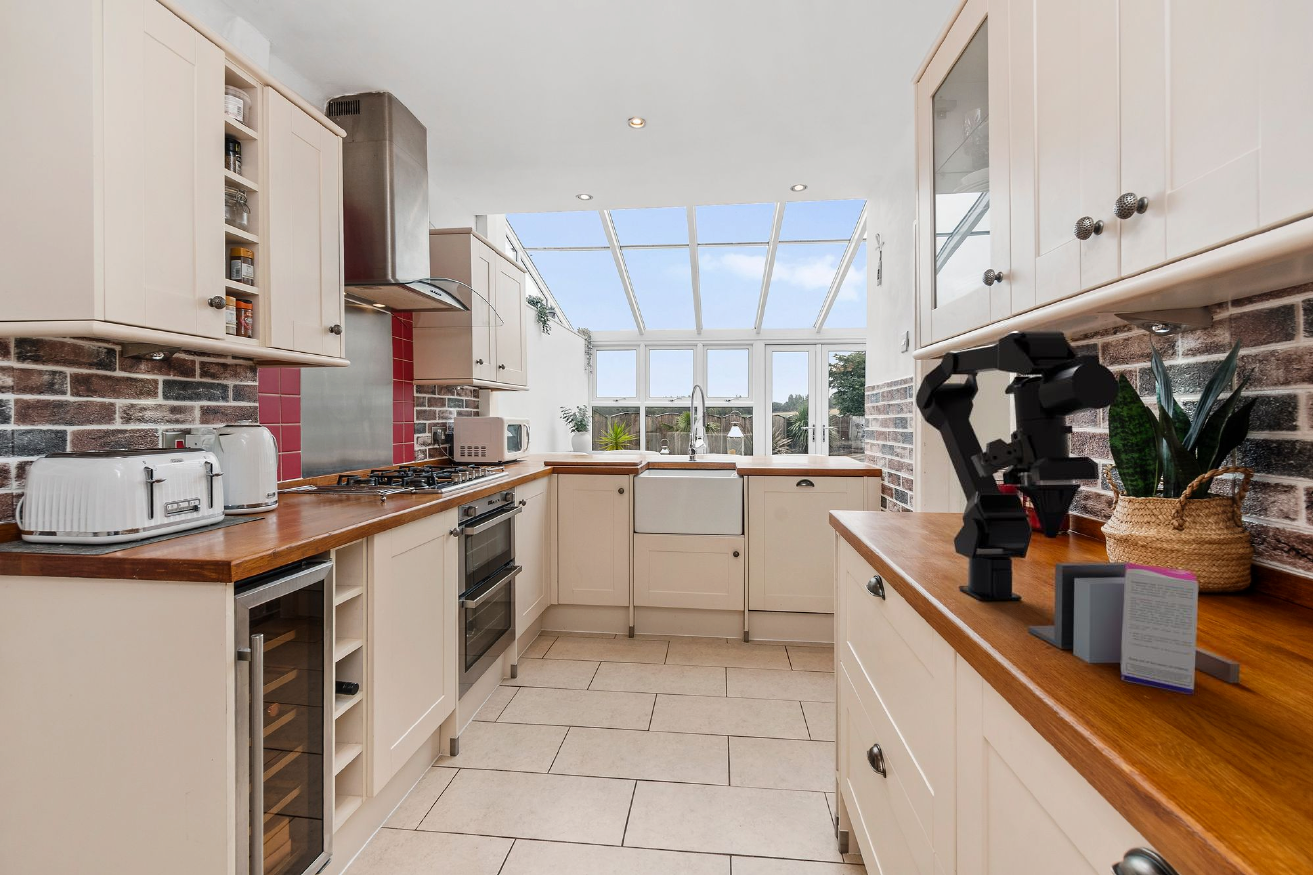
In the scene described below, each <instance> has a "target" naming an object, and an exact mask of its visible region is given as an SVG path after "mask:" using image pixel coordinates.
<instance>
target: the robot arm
mask: <svg viewBox="0 0 1313 875" xmlns="http://www.w3.org/2000/svg"><path fill="white" fill-rule="evenodd" d="M993 371H994V372H995V371H999V372H1000V371H1001V372H1005V373H1010V374H1011V373H1012V374H1019V376H1014V378H1013V380H1012V381H1011V383H1009V384H1008V385H1007V387H1006V388H1005V390H1004V393H1005V395H1013V400H1014V402H1013V403H1014V411H1015V413H1014V414H1015V423H1016V424H1015V425H1016V427H1015V428H1016V430H1014V431H1012V433H1011V434H1010V442H1008V443H1007V442H1006V441H1005V440H1003V438H998V439H997V438H996V440H991V441H990V442H988V443H986V446H985V451H983V448H982V446H981V444H980V442H979V439H978V436H977V435H976V432H975V430H974V428H973V425H972V422H971V421H970V417H971V414H972V412H973V408H974V403H973V401H974V399H975V397H976V395H977V393H979V387H978V386H979V385H978V381H977V376H978V374H979V373H983V372H984V373H985V372H993ZM952 375H956V376H957V375H958V376H959V375H962V376H963V375H965V376H966V375H967V377H966V379H965V382H964V383H961V382H950V383H949V382H946V381H948V380H950V378H951V377H952ZM1031 376H1032V377H1031ZM1119 389H1120V385H1119V381H1118V379H1117V378H1116V376H1115V374H1114V373H1113V372H1112V370H1111V369H1109V367H1107V366H1105V365H1103V364H1102V363H1100V356H1099V354H1098V353H1097V354H1094V353H1093V354H1092V353H1091V354H1089V353H1087V354H1084V353H1082V354H1079V353H1078V352H1077V351H1076V349H1075V348H1074V347H1073V345H1071V343H1070V342H1069V341H1068V340H1067V338H1066V336H1065V333H1064V332H1063V331H1060V330H1014V331H1011V332H1009V333H1007V334H1006V335H1003V336H1002V337H1000V338H998V340H997V343H995V344H990V345H983V346H980V347H979V346H978V347H973V348H968V349H962V350H951V351H949V352H946V353H945V354H944V355H943V357H942V360H941V362H940V364H938V365H937V366H936V367H935V368H933V369H932V370H931V371H930V372H928V373H927V374H926V375H925V376H924V378H922V382H921V383H920V386H919V388H918V390H917V393H916V394H915V395H916V396H915V403H916V404H915V405H916V406H917V408H918V410H919V412H920V414H921V415H922V418H923V420H924V421H925V422H926V423H927V424H929V425H931V427H933V428H935V429H936V430H937V431H939V434H940V435H941V438H942V441H943V444H944V446H945V449H946V451H947V453H948V456H949V458H950V461H951V463H952V466H953V468H954V471H955V473H956V476H957V478H958V482H959V483H960V487H961V489H962V491H963V494H964V497H965V499H966V506H965V509H964V511H963V515H962V521H963V525H962V527H961V529H959V531H958V533H957V534H956V536H955V537H954V538H953V543H954V544H953V546H954V549H955V553H956V554H958V555H961V556H964V557H966V558H968V579H967V580H968V581H967V582H968V585H959V586H958V589H959V590H960V591H962V592H964V593H966V594H968V595H970V596H972V597H973V598H975V599H977V600H980V601H1021V600H1022V599H1023V598H1022V595H1020V594H1018V593H1015V592H1013V576H1014V574H1013V572H1014V571H1013V559H1014V558H1015V559H1017V558H1018V559H1026V557H1027V553H1028V549H1029V546H1030V544H1031V543H1030V542H1031V538H1032V536H1033V528H1032V524H1031V523H1030V520H1029V518H1030V515H1029V514H1028V512H1027V511H1026V510H1025V508H1024V505H1023V502H1022V499H1021V497H1020V496H1019V495H1018V494H1017V493H1004V492H1003V491H1001V489H1000V487H999V484H998V482H997V481H996V480H997V479H996V478H995V476H994V474H997V473H998V472H999V471H1001V470H1003V469H1005V470H1004V471H1003V472H1002V481H1003V482H1002V483H1003V484H1002V485H1003V486H1014V488H1015V489H1016V490H1017V491H1019V492H1021V493H1022V494H1023V495H1024V496H1026V497H1027V498H1029V500H1030V503H1031V504H1032V507H1033V509H1034V511H1035V514H1036V517H1037V519H1038V522H1039V526H1040V528H1041V530H1042V533H1043V536H1044V538H1046V539H1055V538H1057V537H1058V534H1059V532H1060V530H1061V528H1062V525H1063V523H1064V521H1065V519H1066V516H1067V514H1068V512H1069V510H1070V507H1071V505H1072V503H1073V501H1074V499H1075V497H1076V495H1077V493H1078V490H1079V489H1081V487H1082V484H1081V483H1080V484H1079V483H1077V484H1076V483H1075V484H1074V481H1076V480H1077V481H1079V480H1080V481H1082V480H1084V481H1094V480H1100V474H1099V473H1100V472H1099V463H1097V462H1096V461H1094V460H1093V459H1092V458H1091V457H1089V456H1070V448H1069V438H1068V436H1069V435H1071V434H1074V431H1073V430H1074V429H1073V425H1067V417H1069V416H1073V415H1077V414H1082V413H1087V412H1092V411H1096V410H1100V409H1106V408H1107V407H1109V406H1111V405H1112V404H1113V403H1114V402H1115V401H1116V399H1117V397H1118V395H1119V391H1120V390H1119Z"/></svg>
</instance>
